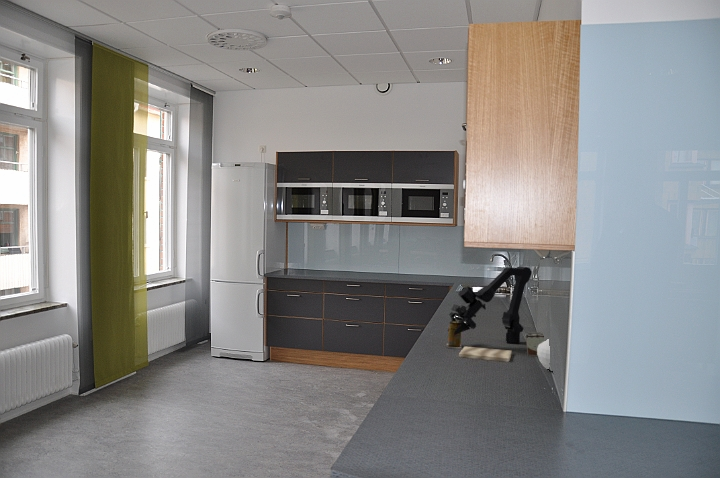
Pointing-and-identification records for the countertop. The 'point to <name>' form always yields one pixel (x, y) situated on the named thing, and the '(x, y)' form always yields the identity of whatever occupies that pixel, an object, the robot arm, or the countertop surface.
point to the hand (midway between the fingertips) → (451, 332)
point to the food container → (533, 342)
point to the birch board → (485, 354)
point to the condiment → (454, 336)
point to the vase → (544, 353)
